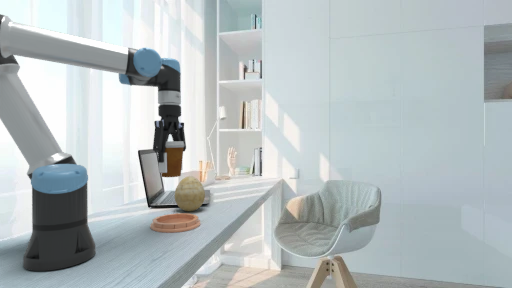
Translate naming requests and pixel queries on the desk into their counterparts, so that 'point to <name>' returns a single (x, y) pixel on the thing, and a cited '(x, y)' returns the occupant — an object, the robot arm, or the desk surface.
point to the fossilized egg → (189, 194)
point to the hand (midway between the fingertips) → (171, 171)
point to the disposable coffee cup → (174, 158)
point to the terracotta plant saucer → (175, 223)
